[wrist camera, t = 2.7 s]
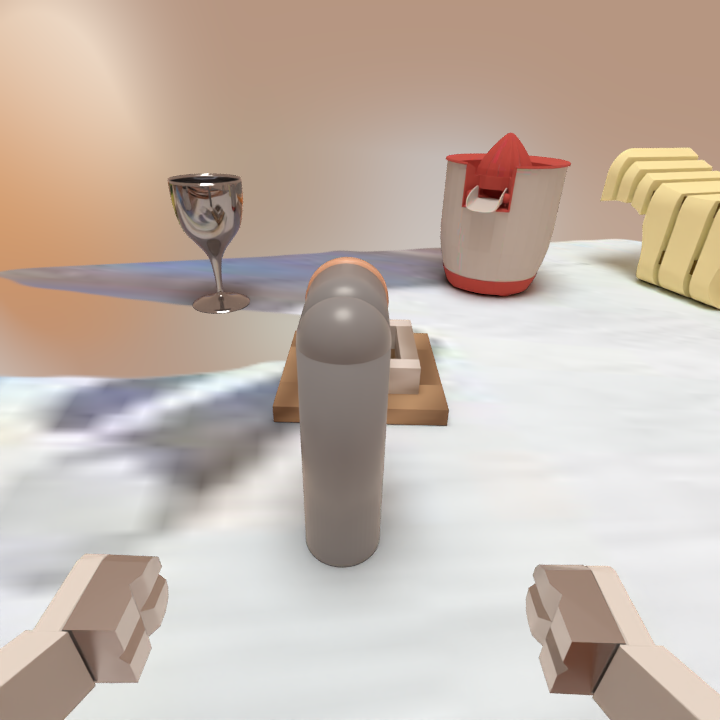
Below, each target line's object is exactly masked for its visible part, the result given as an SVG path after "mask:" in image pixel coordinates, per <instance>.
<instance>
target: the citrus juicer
mask: <svg viewBox="0 0 720 720" xmlns="http://www.w3.org/2000/svg"><path fill="white" fill-rule="evenodd" d="M446 159H447V160H448V164H447V172H446V182H445V192H444V201H443V210H442V219H441V251H442V257H443V266H444V270H445V273H446V277H447V279H448V281H449V282H450V283H451V284H452V285H453V286H454V287H457V288H461V289H464V290H467V291H471V292H475V293H481V294H491V295H498V296H509V295H510V294H515V293H519V292H522V291H524V290H526V289H527V288H528V286H529V285H530V283H531V282H532V281H533V279H534V278H535V276H536V274H537V271H538V269H539V267H540V265H541V264H542V262H543V259H544V257H545V255H546V252H547V250H548V247H549V244H550V240H551V237H552V233H553V230H554V225H555V221H556V217H557V212H558V208H559V203H560V199H561V194H562V190H563V185H564V181H565V177H566V172H567V168H568V166H570V165H571V163H570V162H568V161H565V160H561V159H554V158H547V157H538V156H529V155H528V153H527V151H526V150H525V148H524V146H523V145H522V143H521V142H520V140H519V139H518V138H517V137H516V135H515V134H513V133H508V134H507V135H505V136H504V137H503V138H502V139H500V140H499V141H498V142H497V143H496V144H495V145H494V146H493V147H492V148H491V149H490V151H489V152H488V153H487V154H456V155H449V156H447V157H446Z"/></svg>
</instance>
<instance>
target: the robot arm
mask: <svg viewBox="0 0 720 720" xmlns="http://www.w3.org/2000/svg"><path fill="white" fill-rule="evenodd" d="M161 568H162V565H161V562H160V560H159V557H155V556H131V555H110V554H85V555H83V556H82V557H81V558H80V559H79V560H78V561H77V562H76V563H75V565H74V567H73V568H72V570H71V571H70V573H69V574H68V576H67V578H66V579H65V581H64V582H63V584H62V585H61V587H60V589H59V590H58V592H57V593H56V595H55V596H54V598H53V600H52V601H51V603H50V604H49V606H48V607H47V609H46V611H45V612H44V614H43V615H42V617H41V618H40V620H39V621H38V623H37V625H36V626H35V628H34V629H33V630H25V631H24V632H23V633H21V634H20V635H19V636H17V637H16V638H15V639H13V640H12V641H11V642H9V643H8V644H7V645H5V646H4V647H3V648H1V649H0V720H64V719H65V718H66V717H67V716H68V715H69V714H70V712H71V711H72V710H73V709H74V708H75V707H76V706H77V705H78V704H79V703H80V702H81V701H82V700H83V699H84V698H85V697H86V695H87V694H88V693H89V692H90V691H91V690H92V689H93V688H94V687H95V683H138V681H139V679H140V676H141V674H142V671H143V669H144V666H145V664H146V661H147V659H148V656H149V654H150V651H151V649H152V647H151V644H150V640H149V636H150V635H151V634H152V633H153V632H155V631H156V630H157V629H158V628H159V627H160V626H161V623H162V620H163V618H164V615H165V613H166V608H167V602H168V585H167V581H166V579H164V578H163V577H162V576H161V575H159V572H160V570H161ZM533 578H534V580H535V584H534V585H532V586H531V587H530V588H528V592H527V596H526V614H527V619H528V624H529V627H530V631H531V634H532V636H533V637H534V638H535V639H536V640H537V641H538V642H539V643H540V644H541V645H542V646H543V647H542V650H541V653H540V655H539V660H540V663H541V666H542V670H543V673H544V676H545V679H546V682H547V686H548V689H549V692H550V693H560V694H578V695H593V697H592V698H593V699H594V701H595V702H596V703H597V704H598V705H599V707H600V708H601V709H602V710H603V712H604V713H605V714H606V715H607V716H608V718H609V719H610V720H720V694H718V693H717V692H716V691H715V690H714V689H713V688H711V687H710V686H709V685H708V684H707V683H706V682H704V681H703V680H702V679H701V678H700V677H699V676H697V675H696V674H695V673H694V672H693V671H692V670H690V669H689V668H688V667H687V666H686V665H685V664H683V663H682V662H681V661H680V660H679V659H678V658H676V657H675V656H674V655H673V654H672V653H671V652H669V651H668V650H667V649H666V648H665V647H664V646H656V645H655V644H654V642H653V640H652V638H651V636H650V635H649V633H648V631H647V629H646V627H645V625H644V623H643V621H642V620H641V618H640V616H639V614H638V612H637V610H636V608H635V607H634V605H633V603H632V601H631V599H630V597H629V595H628V594H627V592H626V590H625V588H624V586H623V584H622V582H621V580H620V579H619V577H618V575H617V573H616V571H615V570H614V569H613V568H612V567H610V566H584V565H538V566H537V567H535V570H534V573H533Z"/></svg>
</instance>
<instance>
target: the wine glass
mask: <svg viewBox="0 0 720 720" xmlns="http://www.w3.org/2000/svg"><path fill="white" fill-rule="evenodd" d="M168 186H169V192H170V197H171V201H172V205H173V208H174V211H175V214H176V217H177V219H178V221H179V224H180V225H181V228H182V229H183V231H184V232H185V233H186V234H187V236H189V238H191V239H192V240H193V241H194V242H195V243H196V244H197V245H198V246H199V247H200V248H202V249H203V251H204V252H205V253H206V254H207V256H208V257H209V259H210V262H211V264H212V268H213V272H214V276H215V281H216V288H217V292H216V293H213V294H208V295H205V296H202V297H200V298H198V299H196V300H195V301H194V302H193V308H194V309H196V310H197V311H200V312H204V313H213V314H214V313H216V314H219V313H228V312H233V311H237V310H240V309H242V308H244V307H246V306H247V305H248V304H249V303H250V299H249V298H248V297H247V296H245V295H243V294H239V293H233V292H224V290H223V285H222V274H221V264H222V257H223V254H224V251H225V250H226V247H227V246H228V245H229V243H230V242H231V240H232V239H233V238H234V236H235V235H236V234H237V232H238V230H239V228H240V225H241V220H242V212H243V192H242V182H241V178H240V177H239V176H236V175H228V174H188V175H179V176H173V177H170V178H168Z"/></svg>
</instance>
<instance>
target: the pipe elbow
mask: <svg viewBox="0 0 720 720" xmlns="http://www.w3.org/2000/svg"><path fill="white" fill-rule="evenodd" d="M388 303H389V300H388V291H387V286H386V283H385V281H384V278H383V277H382V275H381V274H380V273H379V271H378V270H377V269H376V268H375V267H374V266H372V265H371V264H369V263H368V262H366V261H364V260H361V259H357V258H352V257H341V258H336V259H333V260H330V261H328V262H326V263H325V264H323V265H322V266H321V267H319V268H318V269H317V270H316V271H315V273H314V274H313V276H312V277H311V279H310V282H309V285H308V288H307V291H306V300H305V304H304V308H303V311H302V314H301V318H300V321H299V325H298V328H297V333H296V358H297V377H298V396H299V415H300V435H301V454H302V473H303V492H304V511H305V530H306V543H307V546H308V548H309V550H310V552H311V553H312V554H313V556H314V557H316V558H317V559H318V560H319V561H321V562H323V563H325V564H327V565H330V566H335V567H349V566H354V565H357V564H359V563H362V562H363V561H365V560H367V559H368V558H369V557H370V556H371V555H372V554H373V553H374V552H375V550H376V548H377V546H378V543H379V536H380V519H381V503H382V487H383V471H384V455H385V439H386V423H387V407H388V391H389V375H390V359H391V330H390V321H389V313H388Z"/></svg>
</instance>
